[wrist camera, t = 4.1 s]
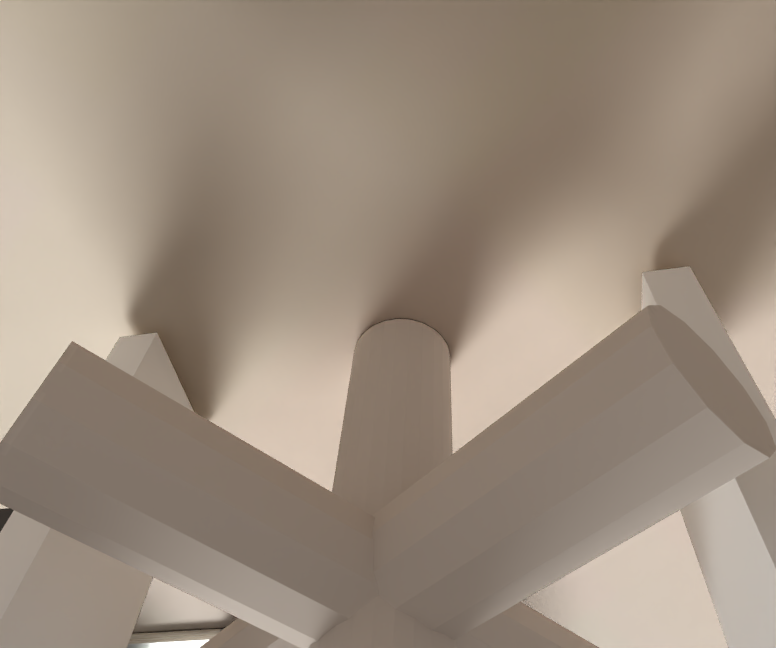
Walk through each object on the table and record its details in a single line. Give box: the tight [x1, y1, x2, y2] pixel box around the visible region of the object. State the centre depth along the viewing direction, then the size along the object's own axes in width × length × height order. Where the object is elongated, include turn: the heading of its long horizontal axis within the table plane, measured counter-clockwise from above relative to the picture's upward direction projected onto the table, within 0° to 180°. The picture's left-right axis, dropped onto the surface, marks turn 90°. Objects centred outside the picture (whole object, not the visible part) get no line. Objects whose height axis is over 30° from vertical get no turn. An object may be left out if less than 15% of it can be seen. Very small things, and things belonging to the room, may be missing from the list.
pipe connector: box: [0, 305, 776, 648], centre depth 9 cm, size 10×10×10 cm
